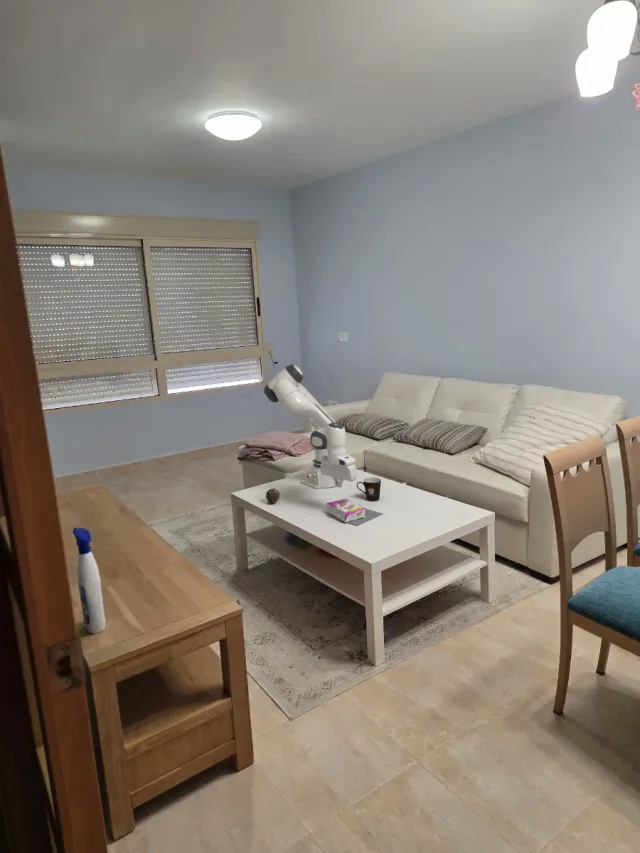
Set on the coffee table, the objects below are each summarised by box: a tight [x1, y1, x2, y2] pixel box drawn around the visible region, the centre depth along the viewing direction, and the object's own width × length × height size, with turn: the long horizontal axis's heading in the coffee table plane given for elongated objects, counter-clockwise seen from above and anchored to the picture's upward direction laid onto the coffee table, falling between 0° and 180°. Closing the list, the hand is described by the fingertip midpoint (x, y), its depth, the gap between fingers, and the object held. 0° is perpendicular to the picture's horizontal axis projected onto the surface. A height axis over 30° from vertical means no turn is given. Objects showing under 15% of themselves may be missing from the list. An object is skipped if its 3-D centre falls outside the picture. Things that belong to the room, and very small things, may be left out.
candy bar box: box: [326, 498, 367, 524], centre depth 260 cm, size 11×5×16 cm
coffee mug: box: [356, 476, 382, 502], centre depth 281 cm, size 12×9×10 cm
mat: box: [327, 508, 384, 527], centre depth 261 cm, size 18×18×1 cm
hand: (338, 486), depth 265 cm, fingers closed
